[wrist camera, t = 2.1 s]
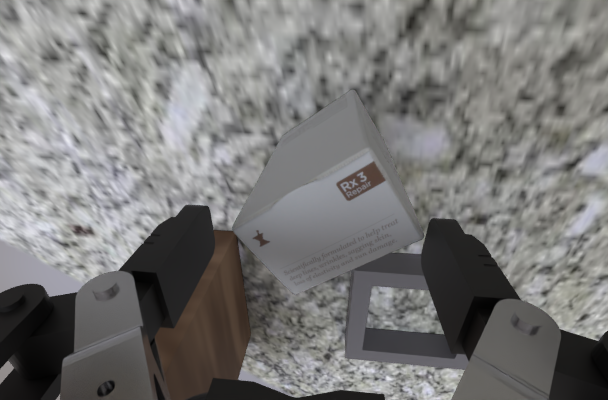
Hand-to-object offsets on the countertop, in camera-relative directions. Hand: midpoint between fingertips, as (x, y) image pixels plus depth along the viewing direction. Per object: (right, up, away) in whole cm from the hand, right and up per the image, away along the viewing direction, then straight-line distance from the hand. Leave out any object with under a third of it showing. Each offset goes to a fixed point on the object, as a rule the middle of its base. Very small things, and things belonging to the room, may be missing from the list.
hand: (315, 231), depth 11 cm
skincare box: (+2, +6, +10) cm, 12 cm away
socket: (+10, -8, +17) cm, 22 cm away
